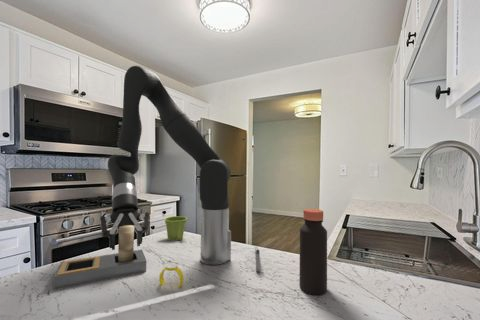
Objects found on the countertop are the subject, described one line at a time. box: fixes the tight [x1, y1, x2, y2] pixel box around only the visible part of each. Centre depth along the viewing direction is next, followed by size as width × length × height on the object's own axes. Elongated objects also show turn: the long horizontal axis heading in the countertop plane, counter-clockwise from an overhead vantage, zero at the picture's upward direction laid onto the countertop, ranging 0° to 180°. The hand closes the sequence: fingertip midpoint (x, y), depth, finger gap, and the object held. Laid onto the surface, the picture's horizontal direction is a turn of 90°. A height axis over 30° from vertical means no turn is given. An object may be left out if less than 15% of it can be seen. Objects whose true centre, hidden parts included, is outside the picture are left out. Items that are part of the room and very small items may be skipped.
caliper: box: [254, 245, 261, 272], centre depth 79 cm, size 20×1×6 cm, turn 178°
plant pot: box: [163, 216, 188, 241], centre depth 99 cm, size 9×9×9 cm
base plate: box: [52, 249, 147, 291], centre depth 66 cm, size 21×10×4 cm, turn 119°
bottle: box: [298, 208, 328, 296], centre depth 60 cm, size 7×7×20 cm
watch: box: [159, 263, 184, 288], centre depth 59 cm, size 6×3×6 cm, turn 78°
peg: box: [117, 225, 135, 263], centre depth 69 cm, size 4×4×12 cm
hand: (126, 246), depth 67 cm, fingers open, 6 cm apart
